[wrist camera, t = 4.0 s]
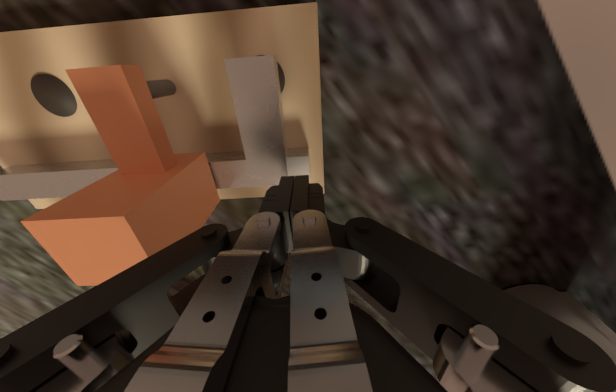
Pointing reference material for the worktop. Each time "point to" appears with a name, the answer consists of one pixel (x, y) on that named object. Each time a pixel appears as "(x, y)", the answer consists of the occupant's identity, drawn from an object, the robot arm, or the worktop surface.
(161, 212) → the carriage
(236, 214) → the worktop surface
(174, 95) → the hole board
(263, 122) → the rail
